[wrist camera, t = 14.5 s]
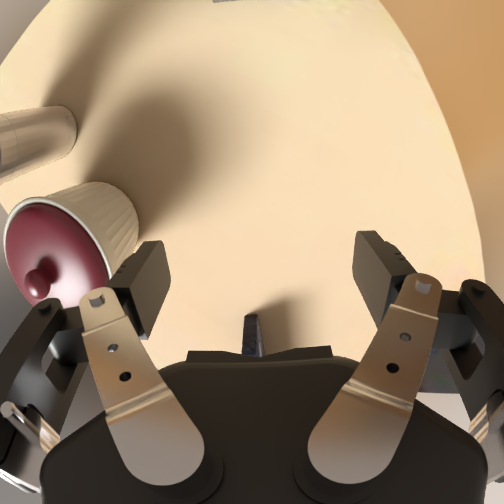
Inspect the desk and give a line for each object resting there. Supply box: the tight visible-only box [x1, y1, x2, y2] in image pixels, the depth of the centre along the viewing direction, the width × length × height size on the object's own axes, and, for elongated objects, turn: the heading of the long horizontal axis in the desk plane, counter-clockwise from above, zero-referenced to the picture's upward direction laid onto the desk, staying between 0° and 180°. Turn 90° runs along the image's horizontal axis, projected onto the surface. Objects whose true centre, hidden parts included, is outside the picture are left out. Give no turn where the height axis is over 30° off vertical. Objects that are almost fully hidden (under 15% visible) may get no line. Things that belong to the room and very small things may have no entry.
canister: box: [3, 182, 139, 309], centre depth 34 cm, size 18×18×21 cm
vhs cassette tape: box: [242, 315, 265, 357], centre depth 51 cm, size 18×3×10 cm, turn 7°
